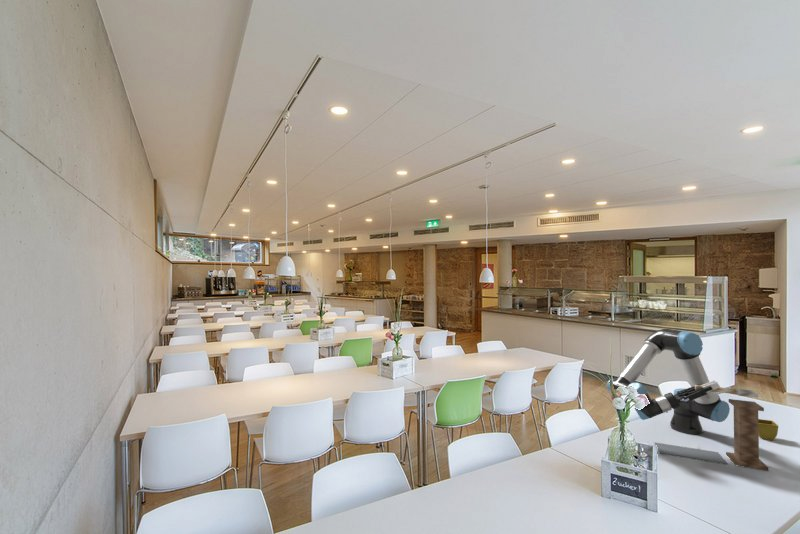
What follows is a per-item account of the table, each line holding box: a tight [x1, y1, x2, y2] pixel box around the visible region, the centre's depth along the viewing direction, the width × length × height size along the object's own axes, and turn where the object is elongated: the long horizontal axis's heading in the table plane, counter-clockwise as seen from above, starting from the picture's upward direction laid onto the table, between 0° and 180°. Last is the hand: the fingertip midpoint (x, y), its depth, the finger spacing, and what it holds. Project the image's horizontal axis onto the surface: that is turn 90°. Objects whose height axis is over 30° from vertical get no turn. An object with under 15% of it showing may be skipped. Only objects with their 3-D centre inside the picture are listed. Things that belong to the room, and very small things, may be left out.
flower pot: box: [758, 418, 779, 441], centre depth 214 cm, size 9×9×9 cm
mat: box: [654, 441, 728, 465], centre depth 194 cm, size 27×13×1 cm, turn 66°
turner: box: [695, 385, 759, 398], centre depth 188 cm, size 23×7×2 cm, turn 66°
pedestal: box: [725, 398, 769, 472], centre depth 185 cm, size 12×12×28 cm
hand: (717, 383), depth 189 cm, fingers closed on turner, 2 cm apart
